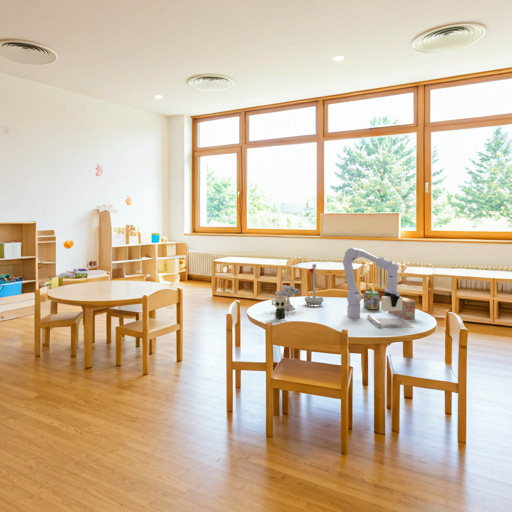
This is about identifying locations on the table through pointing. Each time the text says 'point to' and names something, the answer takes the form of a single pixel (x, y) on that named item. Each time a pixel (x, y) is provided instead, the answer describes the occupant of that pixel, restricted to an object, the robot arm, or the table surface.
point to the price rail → (374, 321)
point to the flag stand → (313, 300)
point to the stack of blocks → (406, 309)
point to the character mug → (280, 306)
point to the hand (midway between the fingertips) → (391, 305)
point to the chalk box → (371, 299)
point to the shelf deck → (393, 323)
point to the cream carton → (387, 304)
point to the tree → (288, 294)
